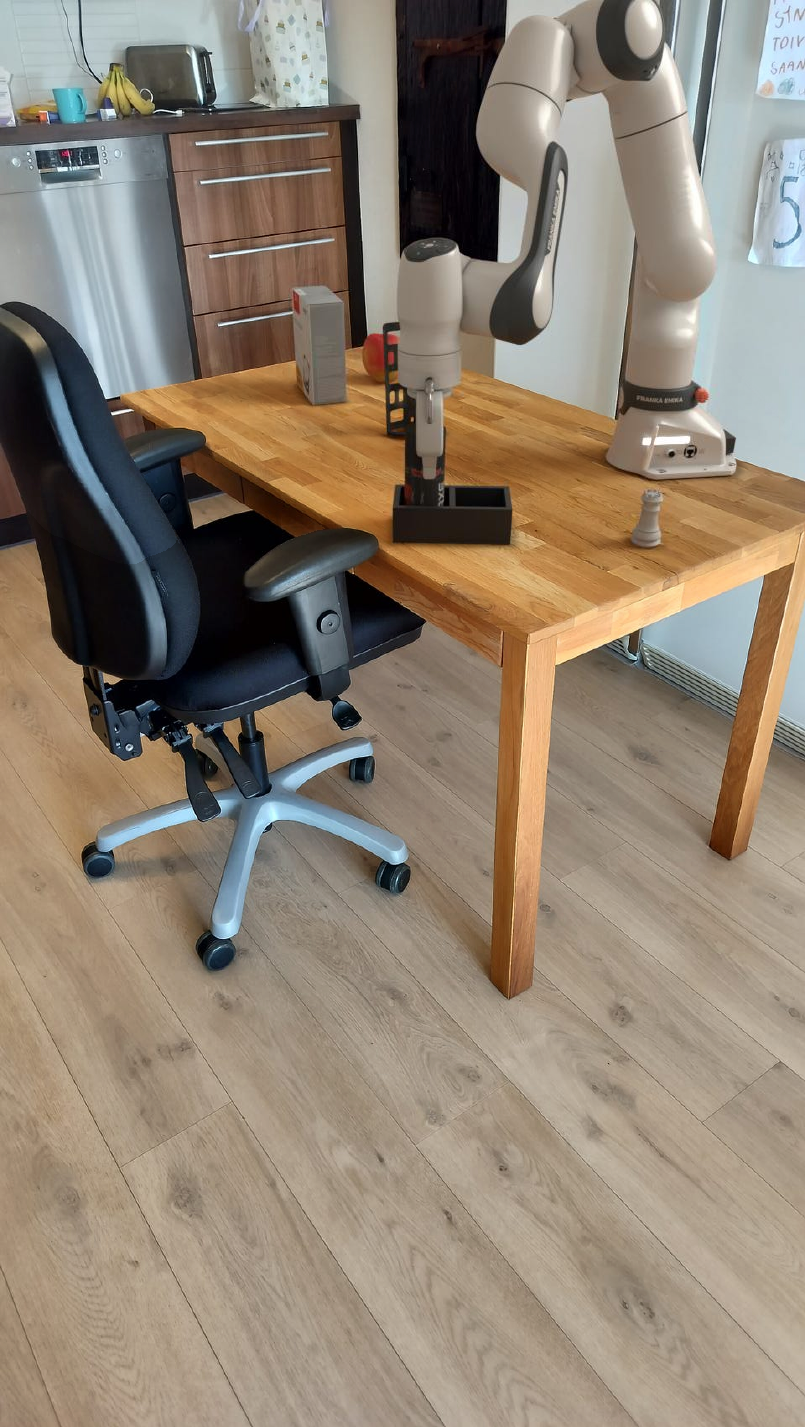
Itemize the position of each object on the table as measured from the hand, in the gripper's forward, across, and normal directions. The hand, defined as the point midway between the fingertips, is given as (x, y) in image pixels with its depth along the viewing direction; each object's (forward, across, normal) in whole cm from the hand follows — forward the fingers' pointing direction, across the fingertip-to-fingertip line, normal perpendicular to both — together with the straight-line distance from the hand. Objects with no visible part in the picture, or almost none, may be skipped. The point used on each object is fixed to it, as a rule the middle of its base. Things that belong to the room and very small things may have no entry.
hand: (429, 465), depth 146 cm
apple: (+10, +80, +10) cm, 82 cm away
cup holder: (+10, 0, -3) cm, 11 cm away
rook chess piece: (+11, -3, -32) cm, 34 cm away
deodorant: (+10, 0, +1) cm, 10 cm away
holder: (+11, +46, +3) cm, 48 cm away
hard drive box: (+10, +71, +23) cm, 75 cm away
